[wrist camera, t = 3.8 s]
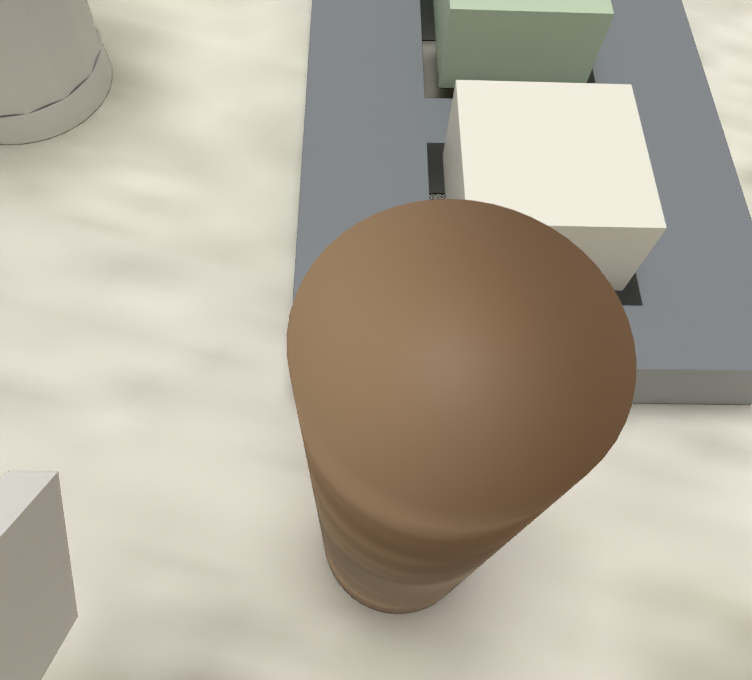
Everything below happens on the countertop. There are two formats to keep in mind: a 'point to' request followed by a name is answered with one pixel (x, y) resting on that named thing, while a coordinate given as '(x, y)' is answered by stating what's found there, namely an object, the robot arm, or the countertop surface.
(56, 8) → the cup
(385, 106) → the keypad
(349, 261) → the wooden pepper mill
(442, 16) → the key mid
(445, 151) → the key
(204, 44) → the countertop surface
